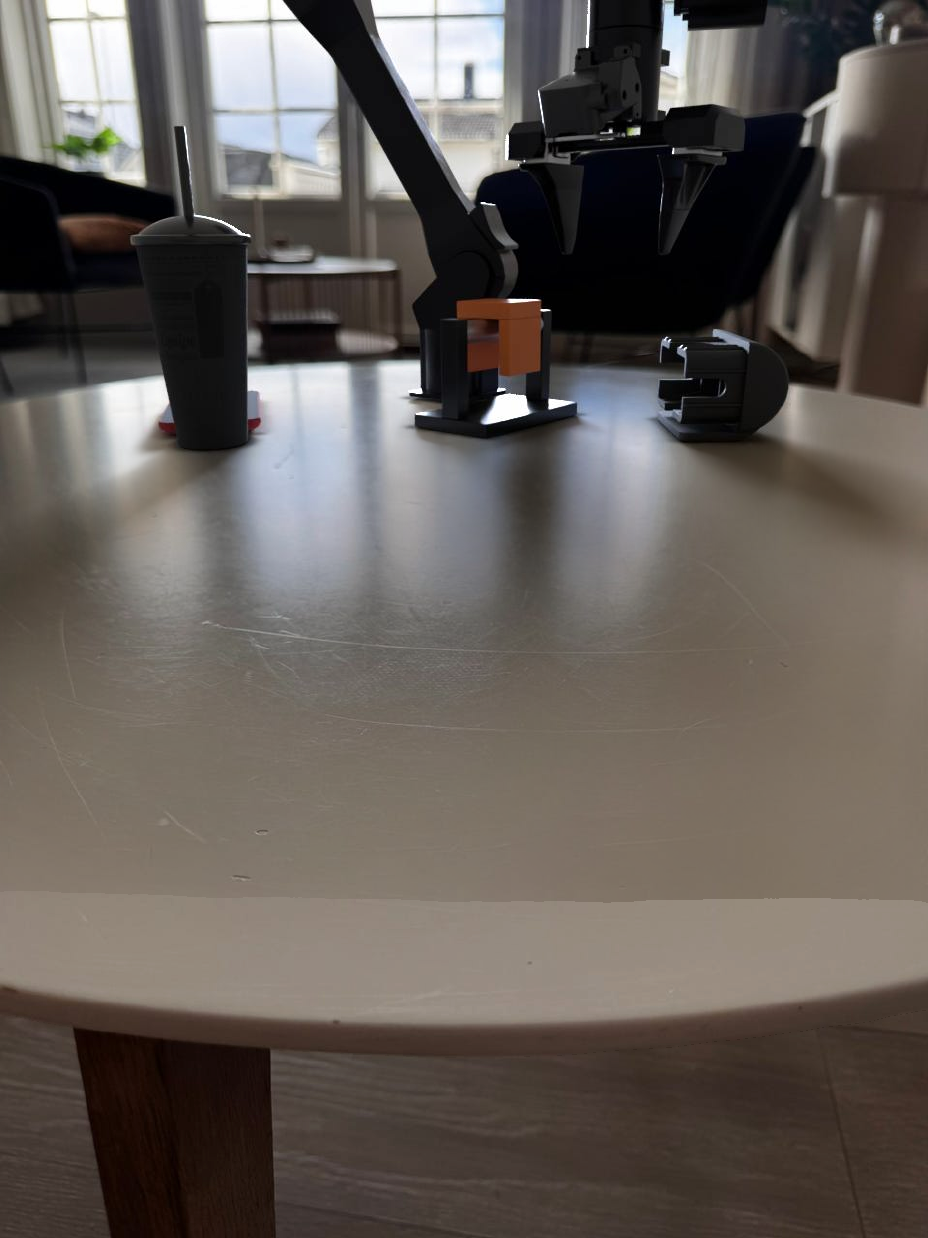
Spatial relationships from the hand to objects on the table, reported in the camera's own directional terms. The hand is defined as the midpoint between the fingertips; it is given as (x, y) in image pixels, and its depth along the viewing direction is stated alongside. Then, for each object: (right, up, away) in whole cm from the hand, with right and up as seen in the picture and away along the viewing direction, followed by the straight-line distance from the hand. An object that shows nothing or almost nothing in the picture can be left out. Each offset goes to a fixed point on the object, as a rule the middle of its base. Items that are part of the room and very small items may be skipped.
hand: (613, 254), depth 76 cm
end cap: (+6, -16, -7) cm, 19 cm away
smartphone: (-33, -14, -1) cm, 35 cm away
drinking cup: (-30, -18, -10) cm, 37 cm away
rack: (-10, -14, -3) cm, 18 cm away
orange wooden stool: (-10, -11, -5) cm, 15 cm away
